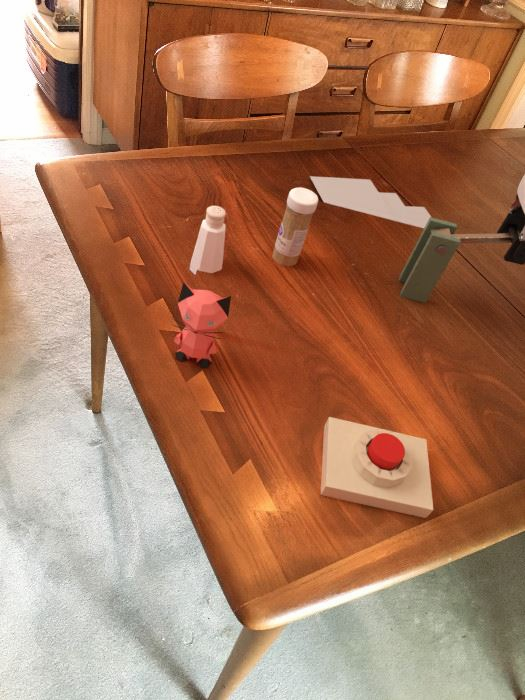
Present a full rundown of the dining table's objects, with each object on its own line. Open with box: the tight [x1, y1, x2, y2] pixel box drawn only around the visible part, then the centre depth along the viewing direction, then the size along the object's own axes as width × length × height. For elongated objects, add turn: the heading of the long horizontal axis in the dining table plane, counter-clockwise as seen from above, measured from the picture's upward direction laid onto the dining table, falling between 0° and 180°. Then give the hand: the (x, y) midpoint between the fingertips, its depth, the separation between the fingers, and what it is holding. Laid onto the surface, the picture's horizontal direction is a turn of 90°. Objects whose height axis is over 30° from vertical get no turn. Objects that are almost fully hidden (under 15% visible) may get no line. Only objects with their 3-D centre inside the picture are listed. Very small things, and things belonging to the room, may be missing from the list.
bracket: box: [398, 216, 462, 303], centre depth 89 cm, size 12×9×14 cm
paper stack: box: [309, 175, 432, 229], centre depth 109 cm, size 23×25×1 cm
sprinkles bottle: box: [271, 187, 319, 267], centre depth 88 cm, size 5×5×13 cm
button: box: [368, 433, 405, 470], centre depth 66 cm, size 4×4×2 cm
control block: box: [320, 416, 434, 519], centre depth 67 cm, size 13×10×4 cm
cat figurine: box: [170, 281, 232, 369], centre depth 71 cm, size 7×7×12 cm
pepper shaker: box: [189, 205, 227, 276], centre depth 84 cm, size 5×5×11 cm
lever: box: [430, 224, 521, 244], centre depth 85 cm, size 13×6×2 cm, turn 83°
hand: (509, 248), depth 85 cm, fingers closed on lever, 5 cm apart
